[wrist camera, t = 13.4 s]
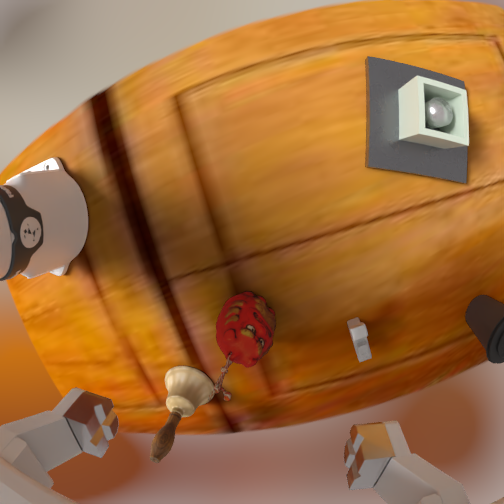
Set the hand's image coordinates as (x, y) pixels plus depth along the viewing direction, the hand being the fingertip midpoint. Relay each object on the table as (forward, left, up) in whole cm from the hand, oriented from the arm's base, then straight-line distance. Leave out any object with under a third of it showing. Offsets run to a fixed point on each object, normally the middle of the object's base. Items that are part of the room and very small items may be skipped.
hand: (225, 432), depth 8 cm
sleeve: (+17, +17, -28) cm, 37 cm away
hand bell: (-12, -24, -29) cm, 40 cm away
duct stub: (+17, +17, -29) cm, 38 cm away
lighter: (+11, -10, -29) cm, 33 cm away
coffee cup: (+32, -8, -29) cm, 44 cm away
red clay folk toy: (-3, -10, -29) cm, 31 cm away
